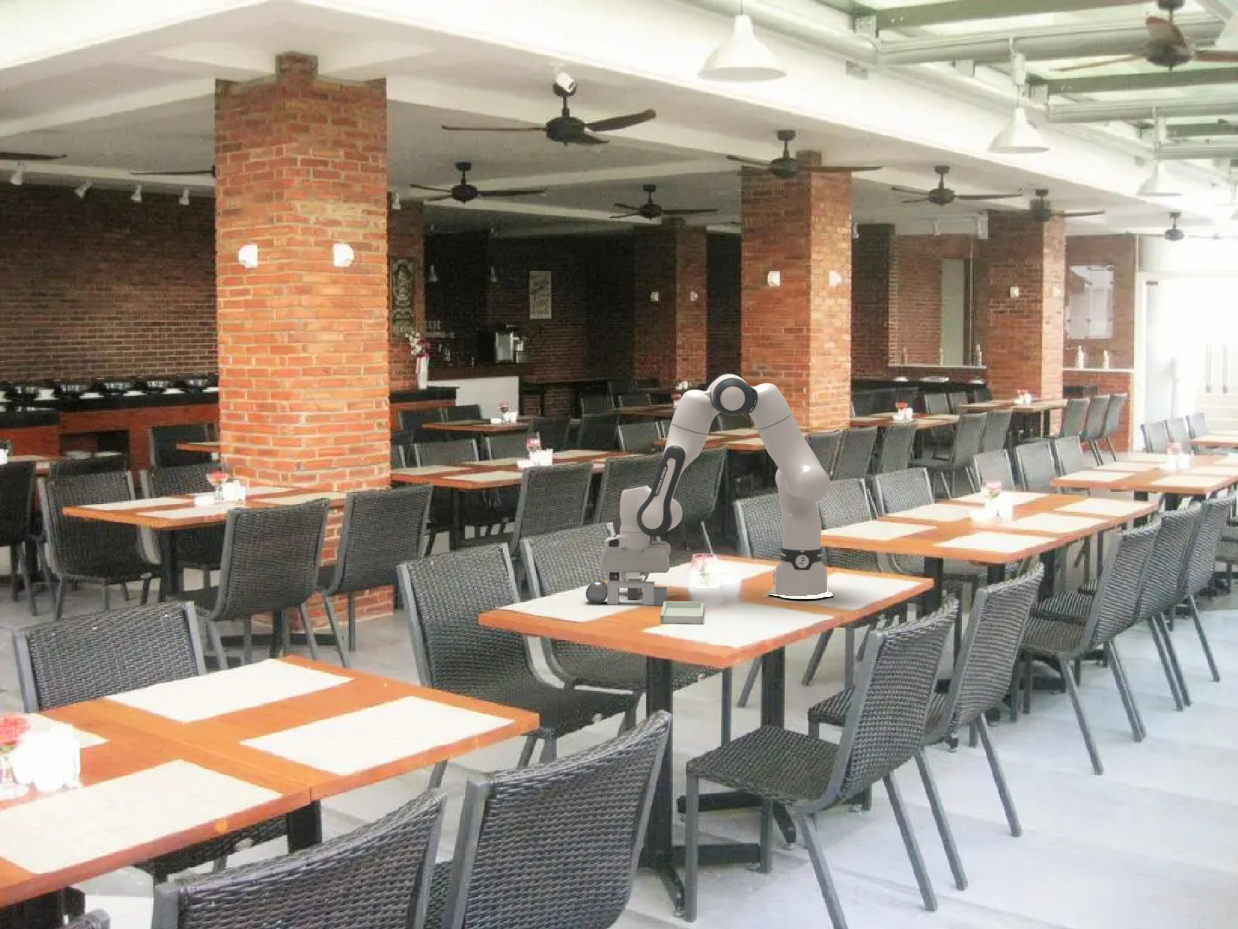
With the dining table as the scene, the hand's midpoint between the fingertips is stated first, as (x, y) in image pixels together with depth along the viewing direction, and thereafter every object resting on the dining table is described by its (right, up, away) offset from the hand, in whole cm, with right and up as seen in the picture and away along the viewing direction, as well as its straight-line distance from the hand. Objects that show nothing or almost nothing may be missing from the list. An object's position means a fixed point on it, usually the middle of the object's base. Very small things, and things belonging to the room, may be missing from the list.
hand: (634, 587), depth 387 cm
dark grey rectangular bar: (0, -2, -2) cm, 3 cm away
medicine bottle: (-3, -1, +15) cm, 15 cm away
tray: (+12, -5, -32) cm, 34 cm away
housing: (-3, -3, -15) cm, 15 cm away
